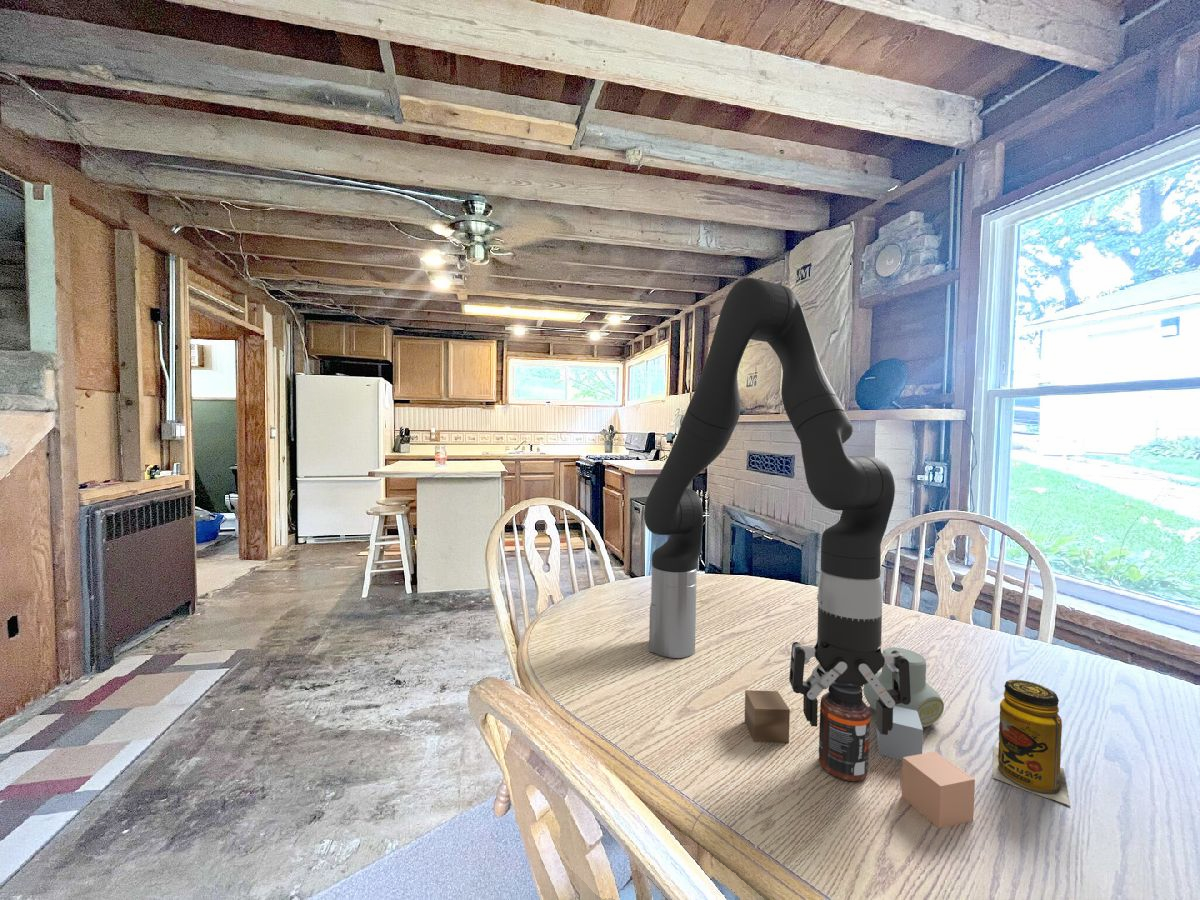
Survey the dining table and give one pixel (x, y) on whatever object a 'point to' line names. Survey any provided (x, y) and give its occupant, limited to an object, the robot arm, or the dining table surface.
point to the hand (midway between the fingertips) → (846, 727)
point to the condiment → (1030, 741)
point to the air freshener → (911, 688)
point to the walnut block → (767, 716)
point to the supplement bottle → (844, 732)
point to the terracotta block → (938, 789)
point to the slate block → (902, 735)
